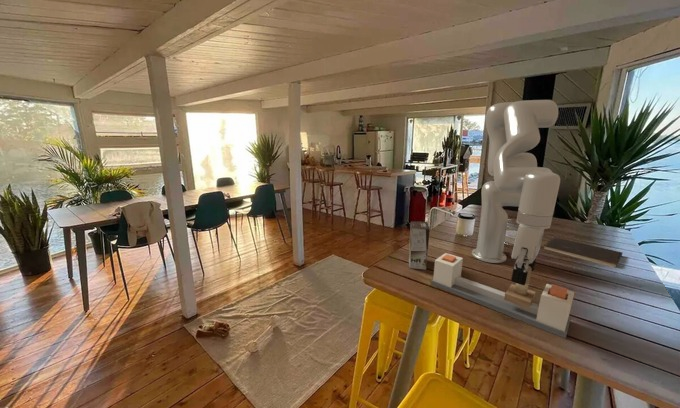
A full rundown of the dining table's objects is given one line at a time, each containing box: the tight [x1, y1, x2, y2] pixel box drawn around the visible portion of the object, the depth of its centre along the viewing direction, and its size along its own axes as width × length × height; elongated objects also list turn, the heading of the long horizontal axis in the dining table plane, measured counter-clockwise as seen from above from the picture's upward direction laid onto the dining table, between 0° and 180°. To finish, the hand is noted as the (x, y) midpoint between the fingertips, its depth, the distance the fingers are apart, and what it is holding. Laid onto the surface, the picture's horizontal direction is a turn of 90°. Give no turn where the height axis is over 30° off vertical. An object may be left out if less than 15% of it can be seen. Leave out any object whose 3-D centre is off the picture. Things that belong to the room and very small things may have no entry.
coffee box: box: [408, 221, 431, 270], centre depth 106 cm, size 9×6×16 cm
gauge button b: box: [549, 283, 569, 300], centre depth 72 cm, size 3×3×4 cm
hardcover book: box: [543, 236, 623, 268], centre depth 117 cm, size 16×23×2 cm
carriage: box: [504, 265, 537, 309], centre depth 77 cm, size 7×6×10 cm
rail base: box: [430, 252, 575, 339], centre depth 83 cm, size 9×36×9 cm, turn 45°
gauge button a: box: [442, 254, 456, 263], centre depth 92 cm, size 3×3×4 cm
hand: (522, 276), depth 77 cm, fingers open, 9 cm apart
